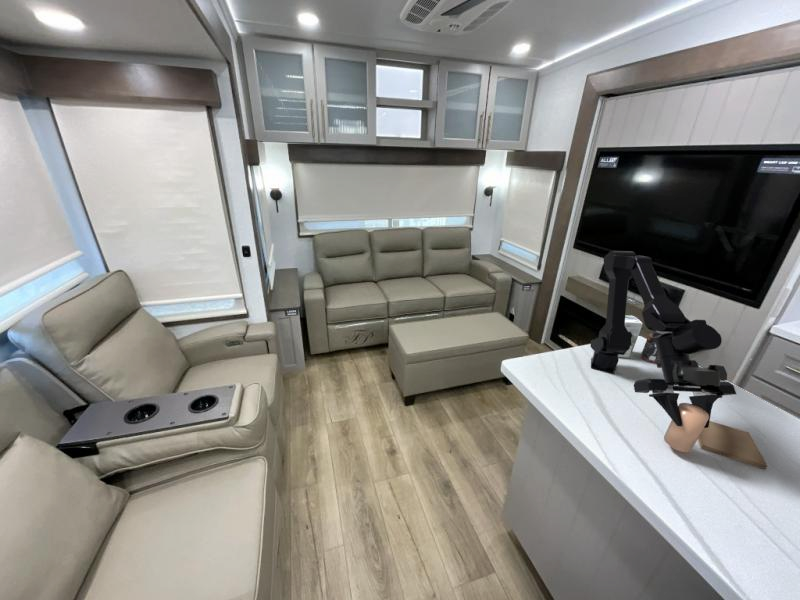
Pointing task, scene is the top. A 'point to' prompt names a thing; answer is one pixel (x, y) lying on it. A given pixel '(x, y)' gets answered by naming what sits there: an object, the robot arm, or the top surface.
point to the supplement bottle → (651, 349)
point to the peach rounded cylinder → (686, 428)
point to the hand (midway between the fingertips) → (692, 426)
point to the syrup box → (633, 327)
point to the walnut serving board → (731, 444)
